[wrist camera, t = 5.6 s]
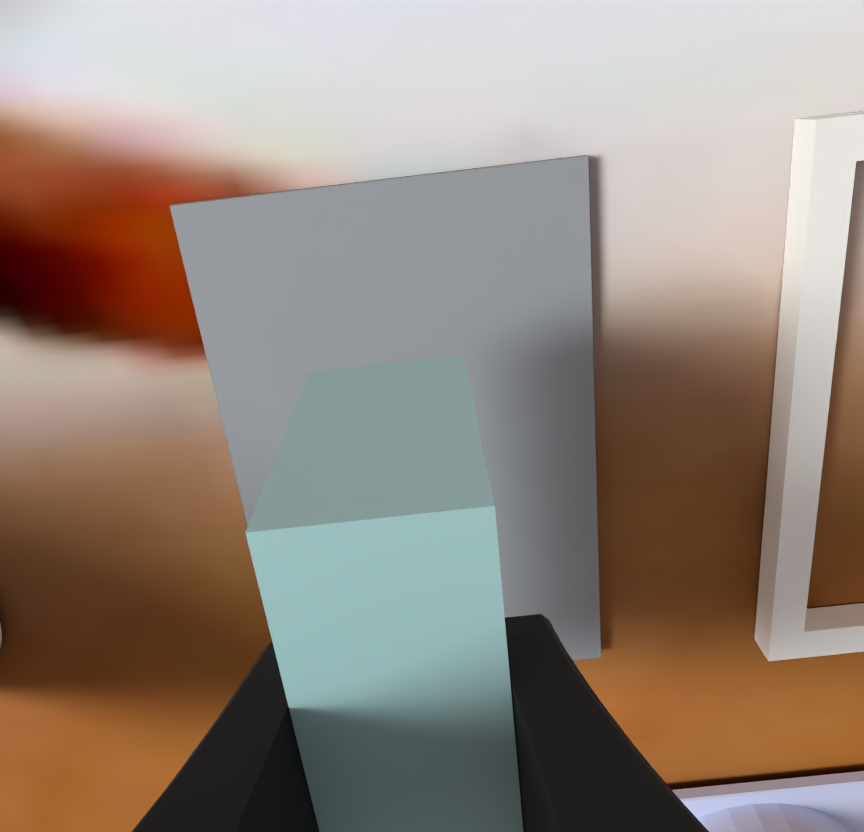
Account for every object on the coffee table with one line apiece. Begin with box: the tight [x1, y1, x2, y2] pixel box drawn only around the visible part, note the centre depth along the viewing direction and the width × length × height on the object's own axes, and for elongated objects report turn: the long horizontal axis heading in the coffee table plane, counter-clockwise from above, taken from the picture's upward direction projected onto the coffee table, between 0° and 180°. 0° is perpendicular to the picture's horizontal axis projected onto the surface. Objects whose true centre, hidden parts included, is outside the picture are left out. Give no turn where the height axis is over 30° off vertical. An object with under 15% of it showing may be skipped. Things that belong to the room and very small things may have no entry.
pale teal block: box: [245, 355, 523, 832], centre depth 11 cm, size 8×2×5 cm, turn 6°
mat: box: [170, 155, 601, 660], centre depth 16 cm, size 12×8×1 cm, turn 6°
